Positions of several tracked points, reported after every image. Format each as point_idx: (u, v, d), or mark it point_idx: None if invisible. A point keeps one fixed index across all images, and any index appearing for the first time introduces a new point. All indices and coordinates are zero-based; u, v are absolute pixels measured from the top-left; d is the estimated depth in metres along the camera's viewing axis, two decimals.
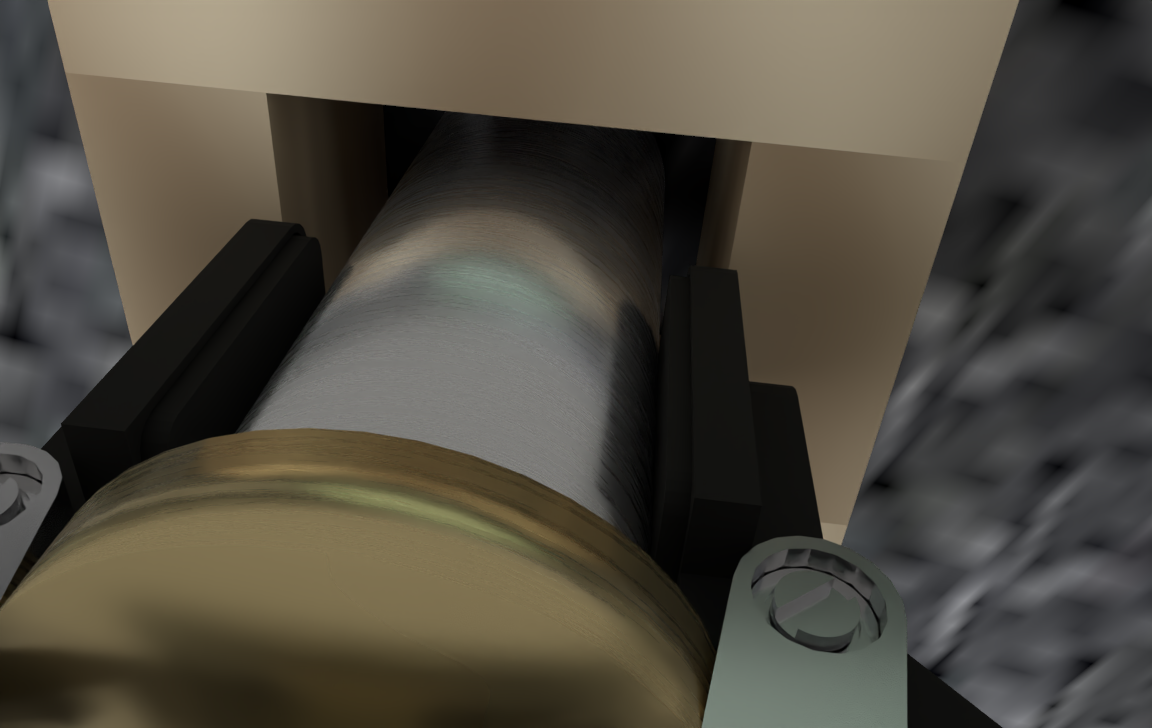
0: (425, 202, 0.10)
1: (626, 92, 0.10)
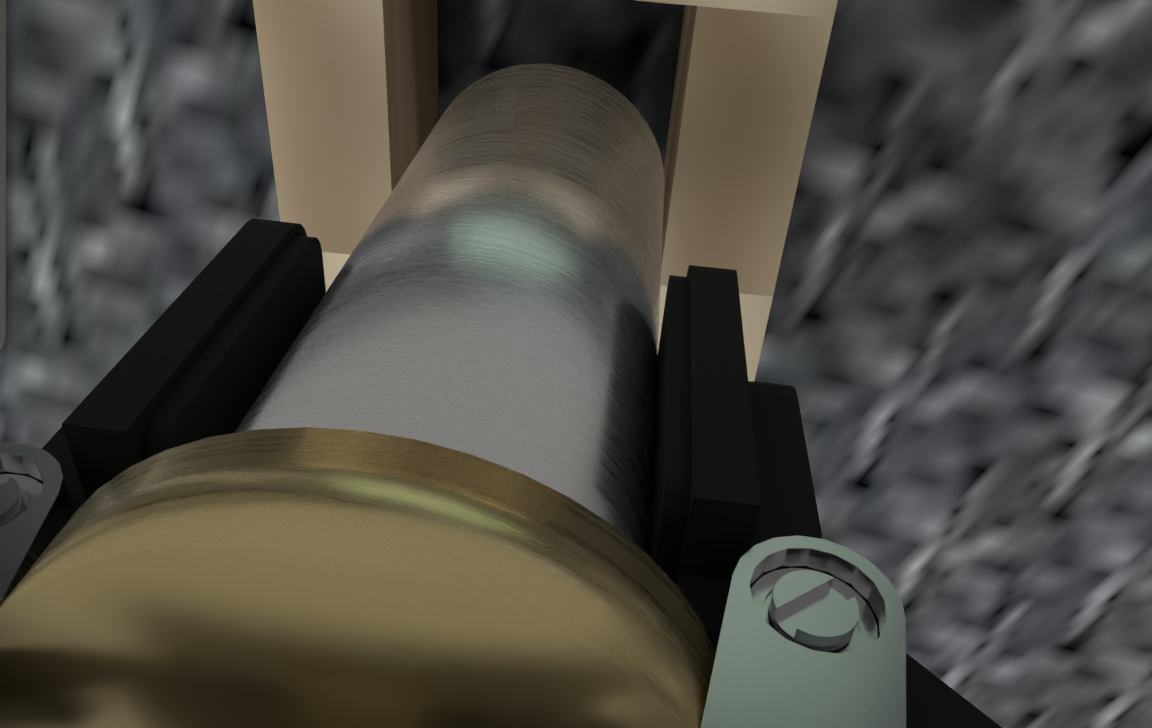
0: (424, 202, 0.10)
1: None
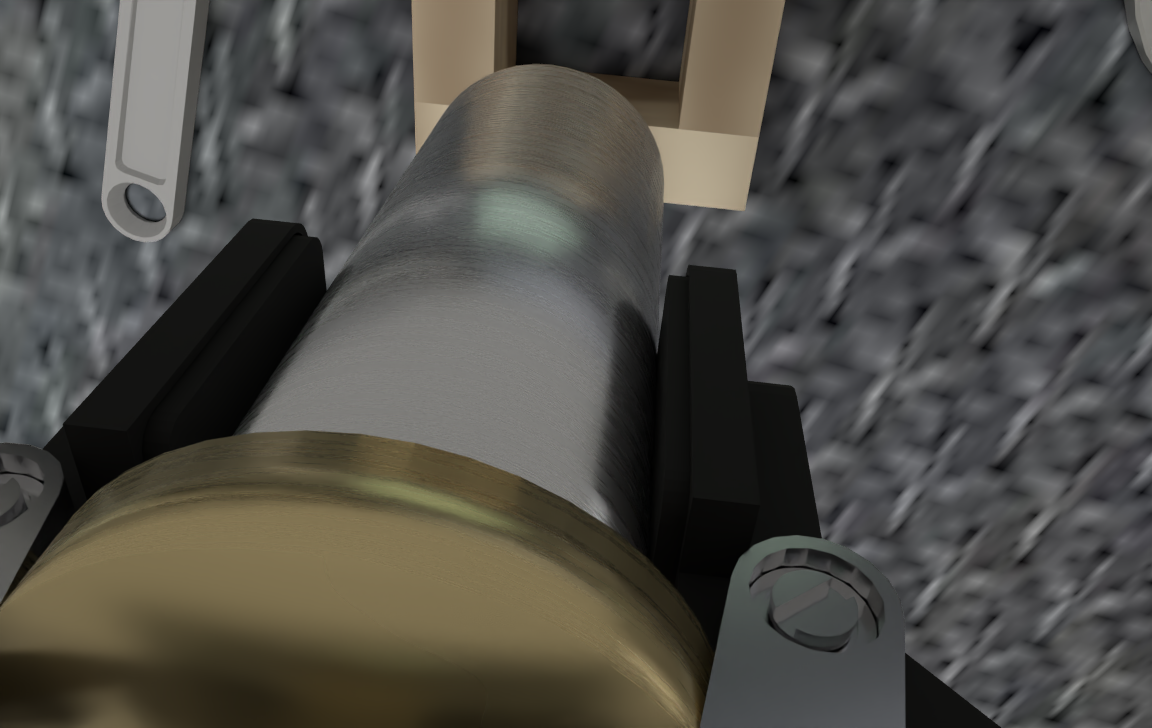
0: (423, 203, 0.10)
1: None
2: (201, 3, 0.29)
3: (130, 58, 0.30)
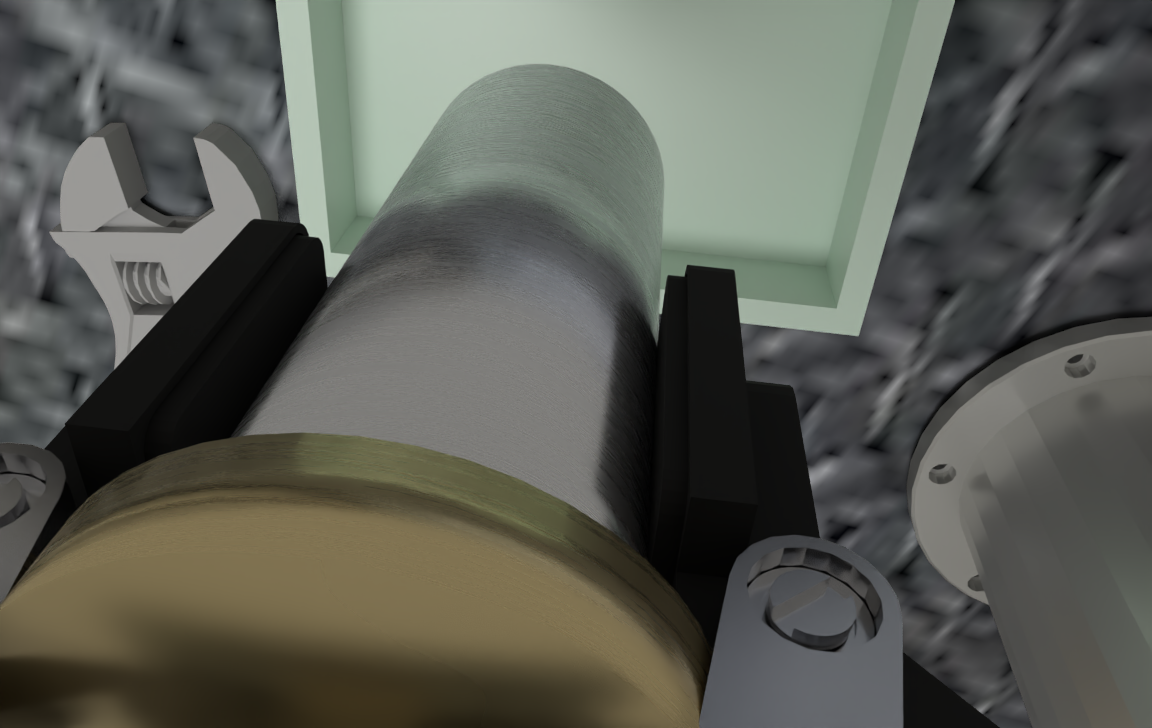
0: (423, 204, 0.10)
1: None
2: None
3: None
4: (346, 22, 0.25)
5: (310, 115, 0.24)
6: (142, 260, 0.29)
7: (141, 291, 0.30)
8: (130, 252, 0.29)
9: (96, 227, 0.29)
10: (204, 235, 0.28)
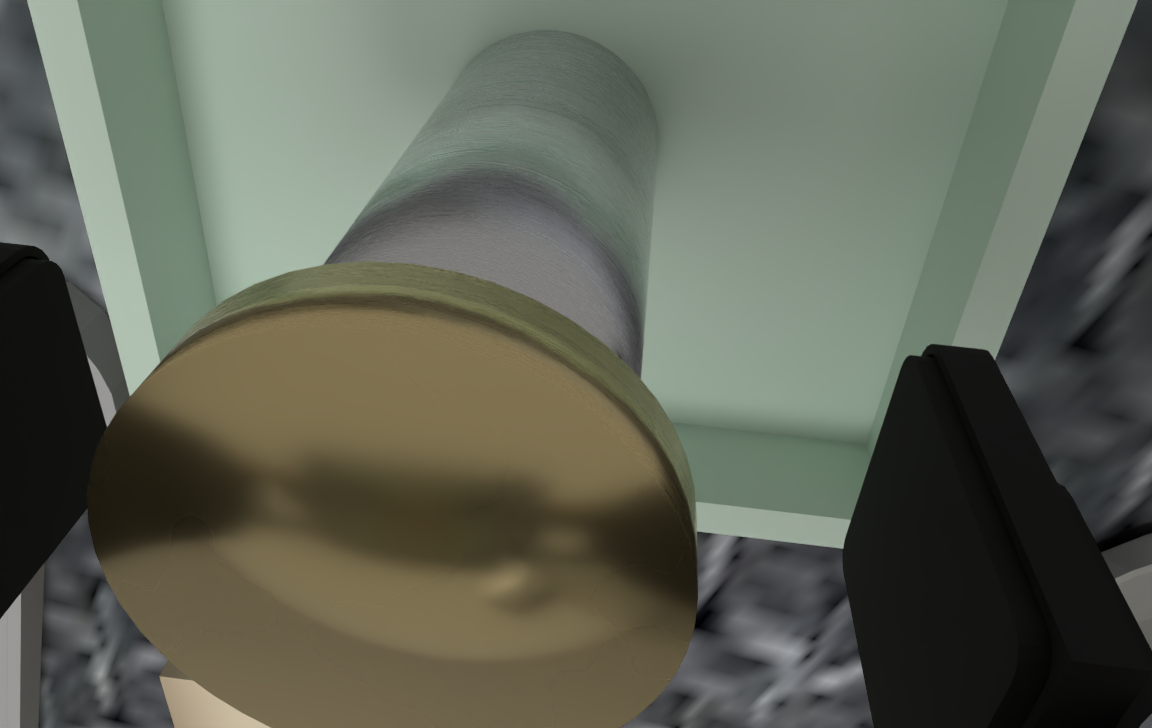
0: (446, 134, 0.12)
1: None
2: (28, 694, 0.29)
3: None
4: (188, 125, 0.17)
5: (128, 268, 0.16)
6: None
7: None
8: None
9: None
10: None
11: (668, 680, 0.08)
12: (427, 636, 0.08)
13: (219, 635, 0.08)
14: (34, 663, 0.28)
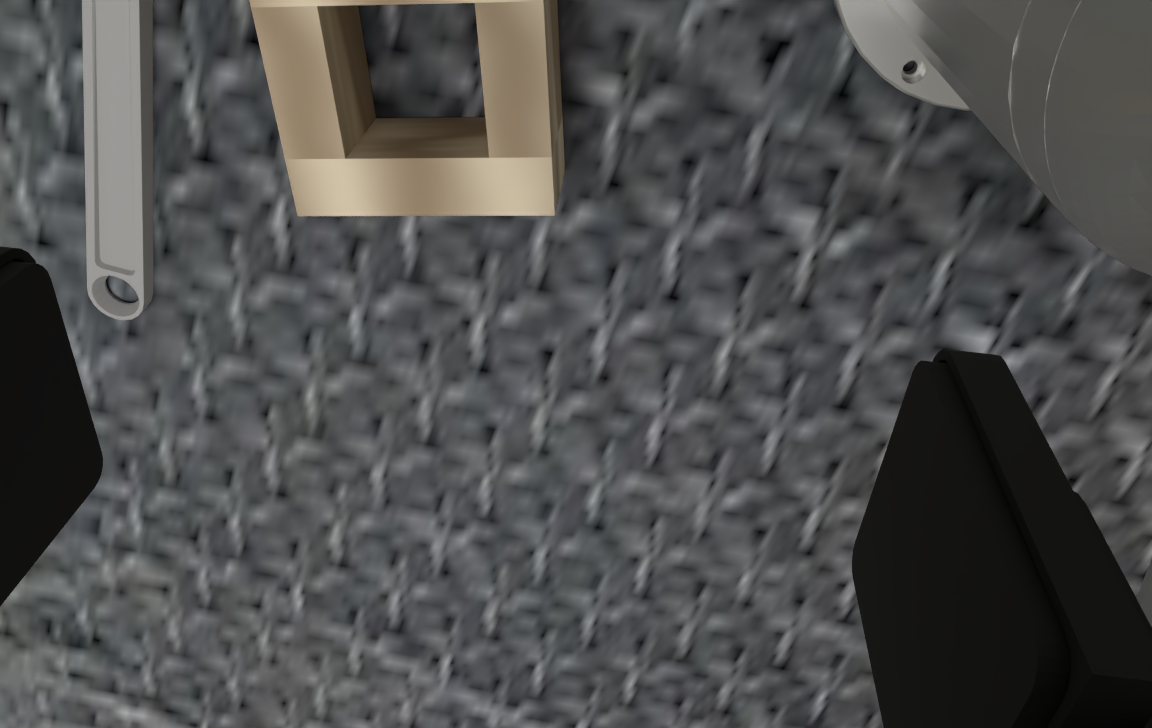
0: None
1: None
2: (146, 137, 0.38)
3: (97, 182, 0.39)
4: None
5: None
6: None
7: None
8: None
9: None
10: None
11: None
12: None
13: None
14: (149, 106, 0.38)
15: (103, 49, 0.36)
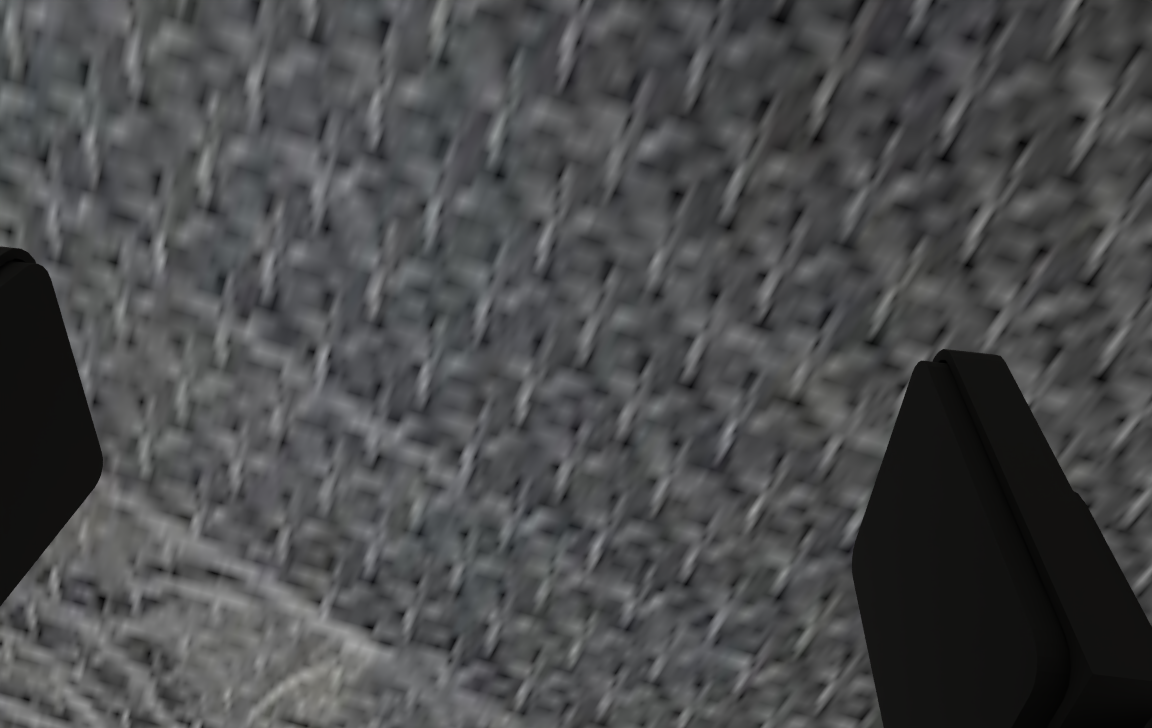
0: None
1: None
2: None
3: None
4: None
5: None
6: None
7: None
8: None
9: None
10: None
11: None
12: None
13: None
14: None
15: None
